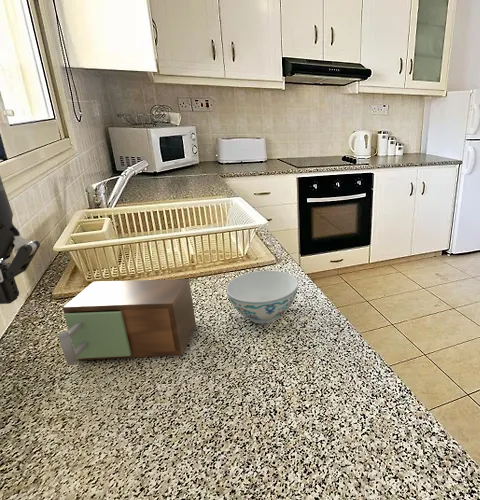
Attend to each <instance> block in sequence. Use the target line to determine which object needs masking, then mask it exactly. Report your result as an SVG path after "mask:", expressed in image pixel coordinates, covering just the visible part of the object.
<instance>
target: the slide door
mask: <svg viewBox="0 0 480 500" xmlns="http://www.w3.org/2000/svg"><path fill="white" fill-rule="evenodd" d="M63 315H64V320H65V323H66V327H67V329H68V330H67V331H66V330H64V331H61V332H60V333H59V334H58V340H59V342H60V346H61V349H62V352H63V355H64V358H65V361H66V364H67V365H68V366H70V367H72V366H75V365H76V364H77V363H78V359H81V358H101V357H121V356H131V350H130V345H129V341H128V337H127V332H126V328H125V324H124V320H123V315H122V311H115V312H87V313H66V314H65V313H64V314H63Z"/></svg>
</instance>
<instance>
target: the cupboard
mask: <svg viewBox="0 0 480 500" xmlns="http://www.w3.org/2000/svg"><path fill="white" fill-rule="evenodd" d="M190 283H191V282H190V279H189V278H178V279H177V278H176V279H175V278H174V279H173V278H172V279H141V280H140V279H139V280H137V279H136V280H105V281H104V280H103V281H102V280H101V281H92V282H91V283H90V284H89V285H88V286H86V287H85V288H83V290H82V291H81V292H79V293H78V294H77V295H76V296H74V297H73V298H72V299H71V300H70V301H68V302H67V303H66V304H65V305H64V306H62V310H63V313H64V315H65V314H66V313H87V312H115V311H122V315H123V320H124V324H125V328H126V332H127V337H128V341H129V345H130V350H131V356H121V357H101V358H81V359H77V361H89V360H90V361H91V360H94V361H95V360H112V359H131V358H132V359H133V358H153V357H171V356H172V357H173V356H182V355H183V353H184V351H185V349H186V347H187V345H188V343H189V341H190V339H191V337H192V335H193V333H194V331H195V329H196V327H197V323H196V316H195V310H194V302H193V297H192V289H191V284H190Z"/></svg>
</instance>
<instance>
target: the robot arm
mask: <svg viewBox="0 0 480 500" xmlns="http://www.w3.org/2000/svg"><path fill="white" fill-rule="evenodd" d="M13 217H14V213H13V210H12V207H11V204H10V200H9V197H8V195H7V191H6V188H5V186H4V183H3V180H2V176H1V175H0V305H10V304H12V303H14V301H16V300H17V299H18V297H19V296H20V290H19V288H18V285H17V282H16V277H18V276H19V275H20V274H22V273H24V272H26V271H27V269H28V267H29V266H30V265H31V262H32V261H33V259H34V257H35V256H36V254H37V253H38V250H39V248H40V247H41V243H40V242H39V241H38V240H31V241H30V240H28V239H26V238H24V237H22V236H21V233H20V231H19V230H18V228H16V226H15V225H14V223H13ZM14 254H15V256H14Z"/></svg>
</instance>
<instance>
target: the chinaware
mask: <svg viewBox="0 0 480 500" xmlns="http://www.w3.org/2000/svg"><path fill="white" fill-rule="evenodd" d="M298 287H299V282H298V279H297V278H296V277H295V276H294V275H293V274H290V273H288V272H285V271H281V270H272V269H271V270H270V269H269V270H266V269H265V270H256V271H251V272H246V273H244V274H240V275H239V276H236V277H235V278H232V279H231V280H230V281H229V282H228V284H227V285H226V288H225V289H226V291H225V292H226V294H227V297H228V299H229V301H230V303H231V305H232V306H233V307H234V309H235V310H236V311H237V312H239V313H240V315H243V316H244V317H246V318H248V319H249V320H250V321H251V322H253V323H255V324H261V325H262V324H270V323H273V322H275V321H277V320H278V319H279V318H280V317H281V315H282V314H284V312H286V311H287V310H288V309H289V308H290V307H291V305H292V304H293V302H294V300H295V298H296V296H297V292H298Z"/></svg>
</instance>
